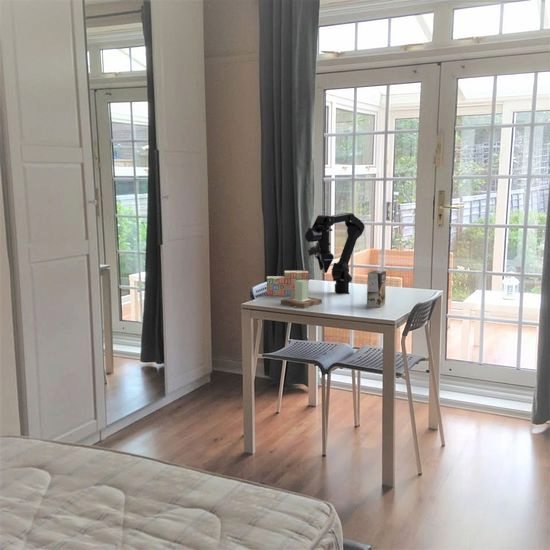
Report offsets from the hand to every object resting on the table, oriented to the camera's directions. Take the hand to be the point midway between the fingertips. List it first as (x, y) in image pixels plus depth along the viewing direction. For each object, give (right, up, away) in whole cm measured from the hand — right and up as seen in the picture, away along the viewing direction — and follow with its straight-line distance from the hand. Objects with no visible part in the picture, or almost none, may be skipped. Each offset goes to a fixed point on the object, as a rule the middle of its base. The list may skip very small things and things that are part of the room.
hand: (323, 271), depth 308 cm
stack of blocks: (-18, -12, +8) cm, 23 cm away
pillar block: (-12, -13, -14) cm, 23 cm away
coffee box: (+23, -16, -18) cm, 34 cm away
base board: (-12, -16, -14) cm, 24 cm away
